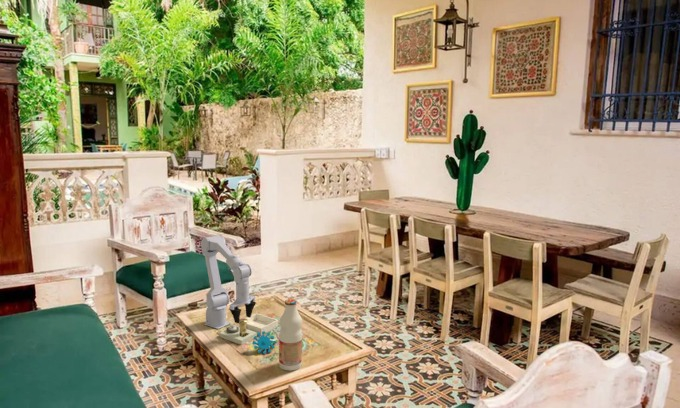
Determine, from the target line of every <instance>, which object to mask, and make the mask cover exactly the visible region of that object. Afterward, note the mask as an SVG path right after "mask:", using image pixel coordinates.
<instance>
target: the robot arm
mask: <svg viewBox="0 0 680 408" xmlns="http://www.w3.org/2000/svg"><path fill="white" fill-rule="evenodd" d="M200 246H201V252H202V255H203V256H204V258H205V266H206V269H207V270H206V271H207V275H208V281H209V287H210V289H209V291H208V292H207V293H206V294H205V296H206V300H205V303H206V306H207V308H206V310H205V323H204V325H205V326H208V327H210V328H214V329H215V330H220V329H222V328H223V327H226V326H228V325H230V324H231V323H230V321H227V307H228V305H229V312H230V313H231V314H232V315H231V316H232V317H233V321H234V323H235V324H239V320H240V319H241V317H240V316H241V312H242V309H241V308H239V307H240V306H245V316H246V318H247V317H249V318H250V317H251V315H253V311H254V307H255V306H256V303H257V302H256V296H254V295H250V284H249V283H250V277H251V275H252V268H251V266H250V264H248V263H245V262H243V261H242V260H241V259H240V258H239V256H238V255H237V254H233V253H232V251H231V250H230V249H229V248H228V247H229V246H227V244H226V239H225V237H224V236H223V235H222V234H218V235H214V236H213V235H211V236H208V237H205V236H204V237H203V238H202V240H201V242H200ZM218 253H220V254H221V256H222V257H223V258H225V262H226V264H227V266H228V267H229V268H230V269H231V270H232V275H233V279H234V282H235V300H234V301H233V302H232V303H231V304H229V303H230V295H229V293H228V290H227V289H226V288H225V287H223V286H222V282H221V277H220V269H219V266H218V260H217V254H218Z"/></svg>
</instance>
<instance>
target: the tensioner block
mask: <svg viewBox="0 0 680 408" xmlns="http://www.w3.org/2000/svg"><path fill="white" fill-rule="evenodd" d="M218 334H219V336H218V337H219V338H222V339H225V340H226V341H227V340H228V341H230V342H233V343H235V344H238V345H241V346H243V345H244V344H246V343H248V342H250V341H252V340H254V337H255V336H257V337H258V335H257V332H254V331H251V330H248V329H246V336H245V337H241V336H240V327H239V325H236V324H235V325H232V326H231V325H230V326H228V327H226V329H224V330H222V331H220V332H218Z"/></svg>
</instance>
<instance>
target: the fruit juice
mask: <svg viewBox="0 0 680 408" xmlns="http://www.w3.org/2000/svg"><path fill="white" fill-rule="evenodd" d="M297 305H298V299H295V298H287V299H285V300H284V306H285V308H284V311H283V313H282V315H280V318H279V327H280V330H279V333H278V334H279V335H278V364H279V368H280V369H281V370H284V371H296V370H298V369H300V368H301V367H302V364H303V330H302V325H303V319H302V316H301V315H300V313H299V311H298V307H297Z"/></svg>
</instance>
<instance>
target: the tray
mask: <svg viewBox="0 0 680 408" xmlns="http://www.w3.org/2000/svg"><path fill="white" fill-rule="evenodd" d="M244 319H247V323H246V329H248V330H251V331H254V332H257V333H260V337H262V332H263V331H265V334H266V335H267V333H268V332H269V333H270V332H271V331H273V330H274V329H277V328H278V327H279V319H276V318H274V317H270V316H267V315H264V314H260V313H252V314H251V317H250V318H249V317H247V316H246V317H245V318H244ZM238 326H239V327H240V323H238ZM265 334H264V335H265Z"/></svg>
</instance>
